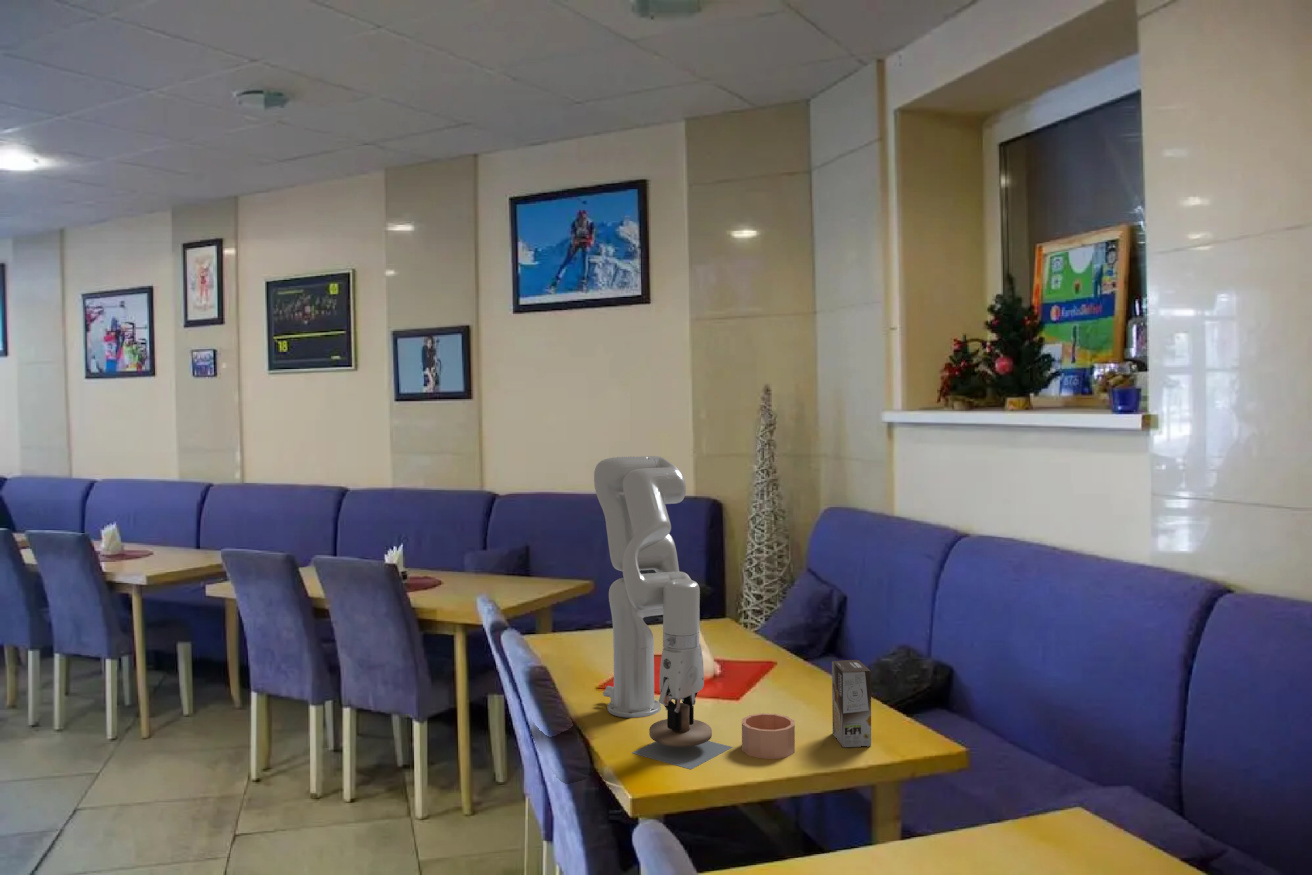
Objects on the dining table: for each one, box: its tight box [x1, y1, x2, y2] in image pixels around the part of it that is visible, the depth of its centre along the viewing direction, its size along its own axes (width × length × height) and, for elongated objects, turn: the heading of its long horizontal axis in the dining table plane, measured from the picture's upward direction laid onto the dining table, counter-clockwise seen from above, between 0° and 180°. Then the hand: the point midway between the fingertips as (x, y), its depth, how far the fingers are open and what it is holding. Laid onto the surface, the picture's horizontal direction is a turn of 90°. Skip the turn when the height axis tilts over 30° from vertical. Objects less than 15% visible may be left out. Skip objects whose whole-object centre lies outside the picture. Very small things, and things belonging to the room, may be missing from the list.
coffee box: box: [831, 659, 872, 748], centre depth 201 cm, size 9×6×16 cm
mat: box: [631, 740, 733, 770], centre depth 195 cm, size 15×15×1 cm
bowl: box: [741, 712, 796, 760], centre depth 195 cm, size 11×11×6 cm
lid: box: [648, 702, 713, 747], centre depth 196 cm, size 13×13×6 cm
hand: (680, 725), depth 196 cm, fingers closed on lid, 3 cm apart
